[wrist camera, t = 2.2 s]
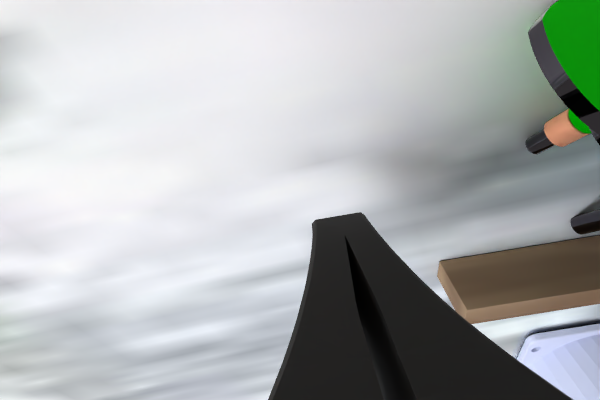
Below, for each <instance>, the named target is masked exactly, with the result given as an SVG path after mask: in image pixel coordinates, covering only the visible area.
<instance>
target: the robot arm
mask: <svg viewBox="0 0 600 400" xmlns="http://www.w3.org/2000/svg"><path fill="white" fill-rule="evenodd" d="M312 230H313V238H312V250H311V258H310V264H309V270H308V275H307V281H306V285H305V290H304V294H303V298H302V301H301V305H300V309H299V313H298V317H297V320H296V324H295V327H294V330H293V333H292V337H291V340H290V343H289V346H288V348H287V351H286V354H285V357H284V360H283V363H282V365H281V368H280V371H279V373H278V376H277V378H276V381H275V384H274V386H273V389H272V391H271V394H270V396H269V399H268V400H600V324H593V325H587V326H581V327H574V328H568V329H562V330H556V331H549V332H543V333H537V334H533V335H530V336H529V337H527V339H526V340H525V342H524V344H523V347H522V349H521V351H520V353H519V355H518V357H517V359H515V358H514V357H512V356H511V355H510V354H508V353H507V352H506V351H504V350H503V349H502V348H500V347H499V346H498V345H497V344H495V343H494V342H493V341H491V340H490V339H489V338H488V337H486V336H485V335H484V334H482V333H481V332H480V331H479V330H477V329H476V328H475V327H474V326H473V325H471V324H470V323H469V322H468V321H466V320H465V319H464V318H463V317H462V316H460V315H459V314H458V313H457V312H456V311H455V310H453V309H452V308H451V307H450V306H449V305H448V304H447V303H446V302H444V301H443V300H442V299H441V298H440V297H439V296H438V295H437V294H436V293H435V292H434V291H433V290H431V289H430V288H429V287H428V286H427V285H426V284H425V283H424V282H423V281H422V280H421V279H420V278H419V277H418V276H417V275H416V274H415V273H414V272H413V271H412V270H411V269H410V268H409V267H408V266H407V265H406V264H405V263H404V262H403V261H402V259H401V258H400V257H399V256H398V255H397V254H396V253H395V252H394V251H393V250H392V249H391V248H390V246H389V245H388V244H387V243H386V242H385V241H384V239H383V238H382V237H381V236H380V235H379V234H378V232H377V231H376V230H375V229H374V227H373V226H372V225H371V223H370V222H369V221H368V219H367V218H366V217H365V215H364V214H362V213H361V212H360V213H354V214H348V215H342V216H336V217H330V218H324V219H318V220H315V221H314V222H313V223H312Z"/></svg>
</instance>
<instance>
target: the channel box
mask: <svg viewBox="0 0 600 400" xmlns="http://www.w3.org/2000/svg"><path fill="white" fill-rule="evenodd" d="M437 277H438V279H439V280H440V282H441V284H442V286H443V288H444V290H445V292H446V294H447V295H448V297H449V299H450V301H451V303H452V305H453V307H454V309H455V311H456V312H457V313H458V314H459V315H460V316H462V317H463V318H464V319H465V320H466V321H468V322H469V323H470V324H475V323H481V322H487V321H494V320H500V319H506V318H513V317H519V316H525V315H531V314H538V313H544V312H550V311H556V310H563V309H569V308H575V307H581V306H588V305H594V304H600V235H598V236H592V237H586V238H580V239H574V240H568V241H562V242H555V243H549V244H543V245H537V246H531V247H525V248H519V249H513V250H506V251H500V252H494V253H488V254H482V255H476V256H470V257H464V258H457V259H451V260H445V261H440V262H439V269H438V276H437Z"/></svg>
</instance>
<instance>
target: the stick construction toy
mask: <svg viewBox="0 0 600 400" xmlns="http://www.w3.org/2000/svg"><path fill="white" fill-rule="evenodd" d="M528 34H529V38H530V43H531V46H532V49H533V52H534V55H535V57H536V59H537V62H538V64H539V66H540V68H541V70H542V72H543V73H544V75H545V77H546V78H547V80H548V82H549V83H550V85H551V86H552V88H553V89H554V91H555V92H556V93H557V95H558V96H559V97H560V98H561V100H562V101H563V102H564V103H565V105H566V106H567V107H568V108H569V109H567V110H566V111H564V112H562V113H561V114H559V115H557V116H556V117H554V118H552V119H551V120H549V121H547V122H546V123H545V125H544V130H542V131H540V132H538V133H537V134H535V135H533V136H532V137H530V138H528V139H527V140H526V147H527V149H528V150H529V151H530V152H531V153H533V154H540V153H542V152H544V151H546V150H547V149H549V148H551V147H553V146H555V145H557V146H561V147H563V146H566V145H568V144H570V143H572V142H574V141H576V140H578V139H580V138H582V137H584V136H586V135H588V134H590V133H592V134H593V136H594V138H595V139H596V141H597V142H598V143H599V145H600V0H559V1H557V2H555V3H554V4H553V5H552V6H551V7H550V8H549V9H547V10H546V11H545V12H544V13H543V14H542V15H541V16H540V17H539V18H538V19H537V20H536V21H535V22H534V23H533V25H532V26H531V28H530V30H529V32H528ZM571 226H572V228H573V230H574V231H575V232H577V233H578V234H587V233H591V232H595V231H599V230H600V209H598V210H595V211H591V212H588V213H584V214H581V215H578V216H575V217H573V218H572V219H571Z"/></svg>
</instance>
